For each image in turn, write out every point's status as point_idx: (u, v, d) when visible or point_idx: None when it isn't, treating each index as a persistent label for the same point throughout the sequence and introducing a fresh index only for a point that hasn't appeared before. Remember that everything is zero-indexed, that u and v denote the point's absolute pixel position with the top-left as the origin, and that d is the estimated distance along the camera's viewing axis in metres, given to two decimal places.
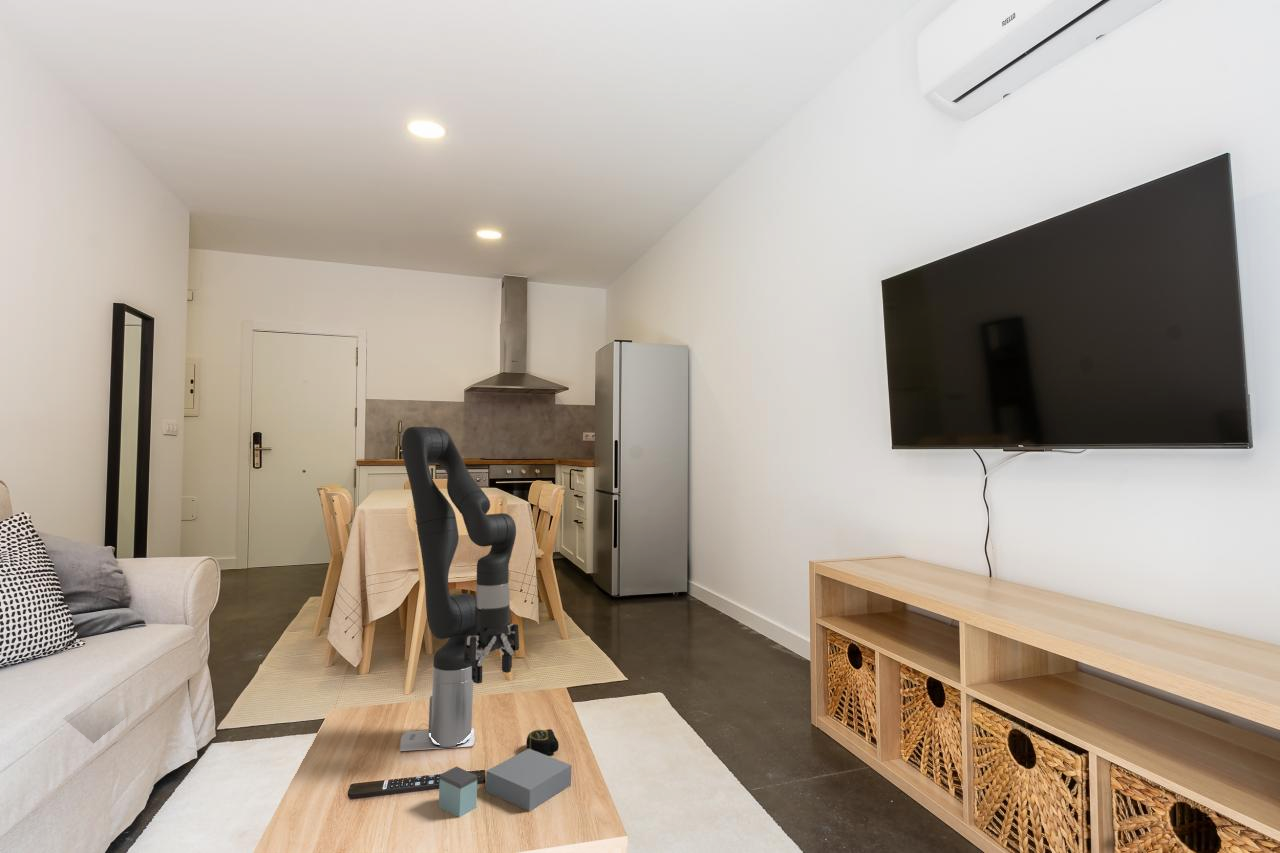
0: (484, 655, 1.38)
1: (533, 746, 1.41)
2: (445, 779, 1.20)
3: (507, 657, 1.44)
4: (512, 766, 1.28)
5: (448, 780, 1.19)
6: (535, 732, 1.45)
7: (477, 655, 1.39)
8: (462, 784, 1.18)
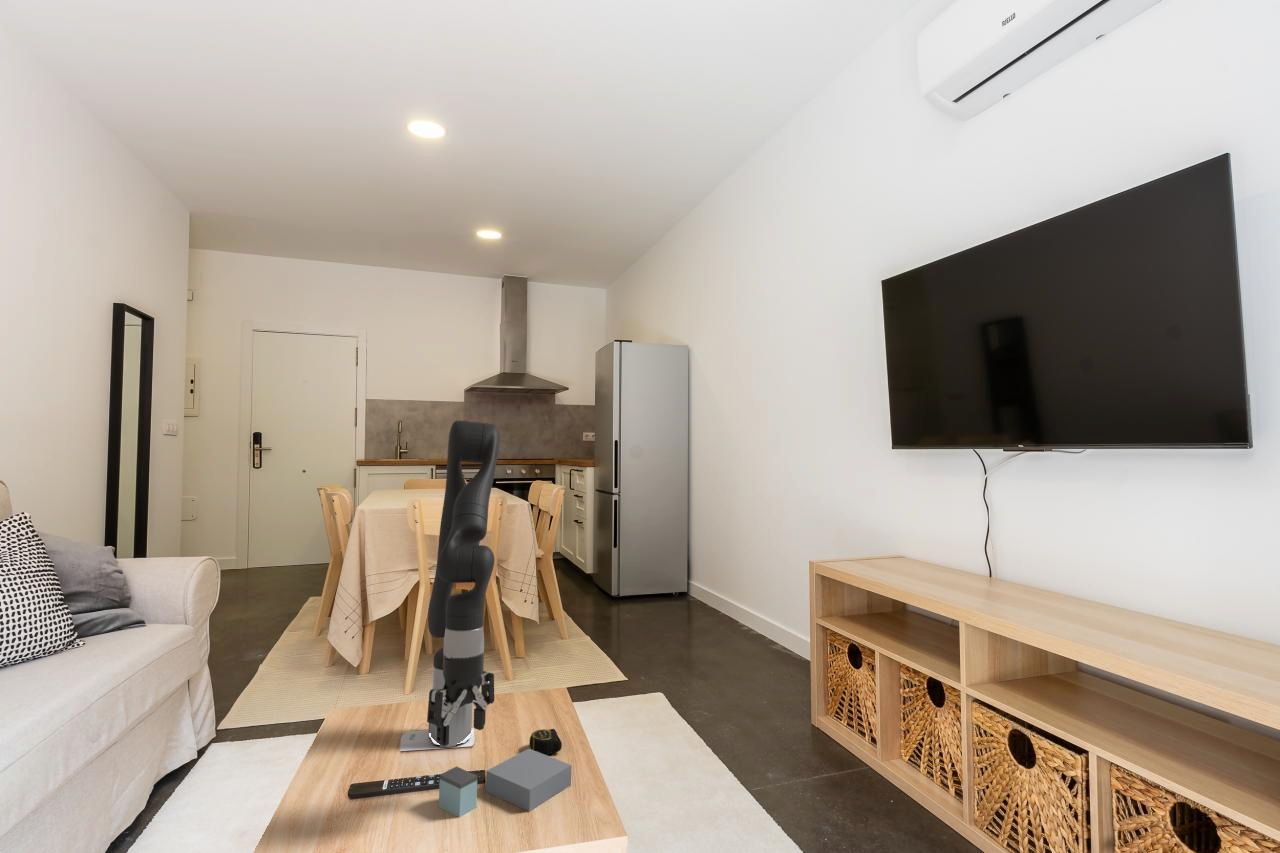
0: (452, 713, 1.17)
1: (537, 746, 1.41)
2: (445, 779, 1.20)
3: (480, 712, 1.24)
4: (512, 766, 1.28)
5: (448, 780, 1.19)
6: (538, 732, 1.46)
7: (444, 712, 1.19)
8: (462, 784, 1.18)
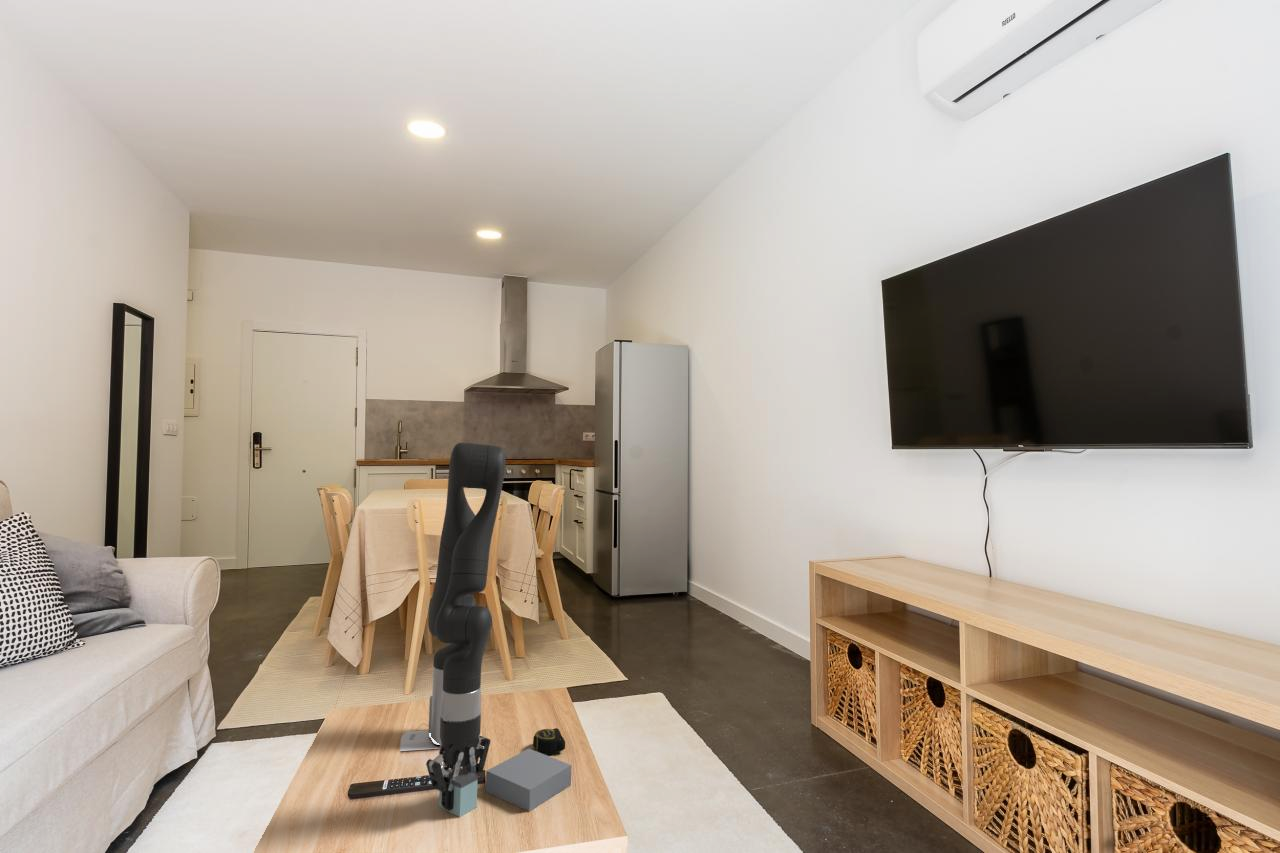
0: (454, 777, 1.18)
1: (540, 745, 1.41)
2: None
3: None
4: (512, 766, 1.28)
5: (448, 780, 1.19)
6: (542, 731, 1.46)
7: None
8: (462, 784, 1.18)
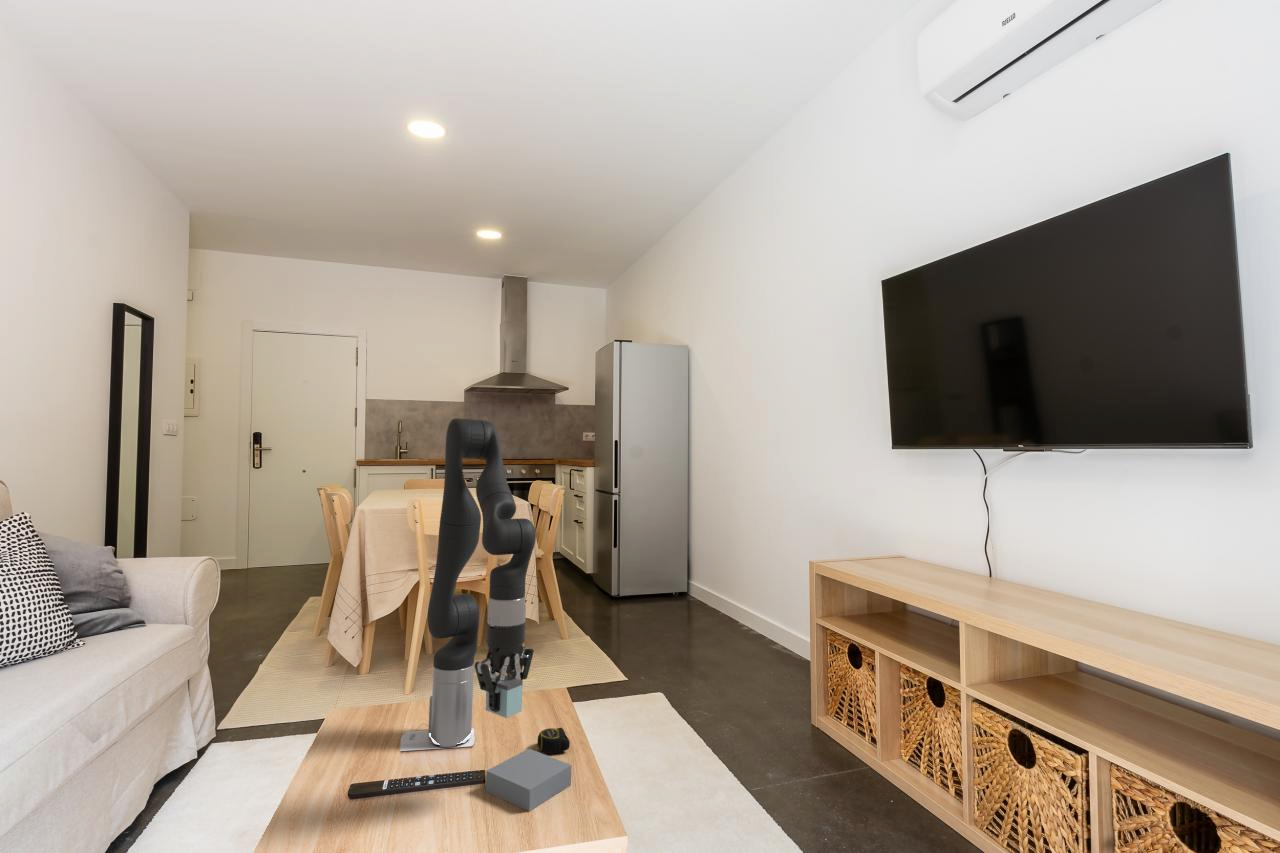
0: (501, 680, 1.23)
1: (545, 745, 1.42)
2: None
3: None
4: (512, 766, 1.28)
5: None
6: (546, 730, 1.46)
7: (493, 679, 1.24)
8: (509, 686, 1.23)
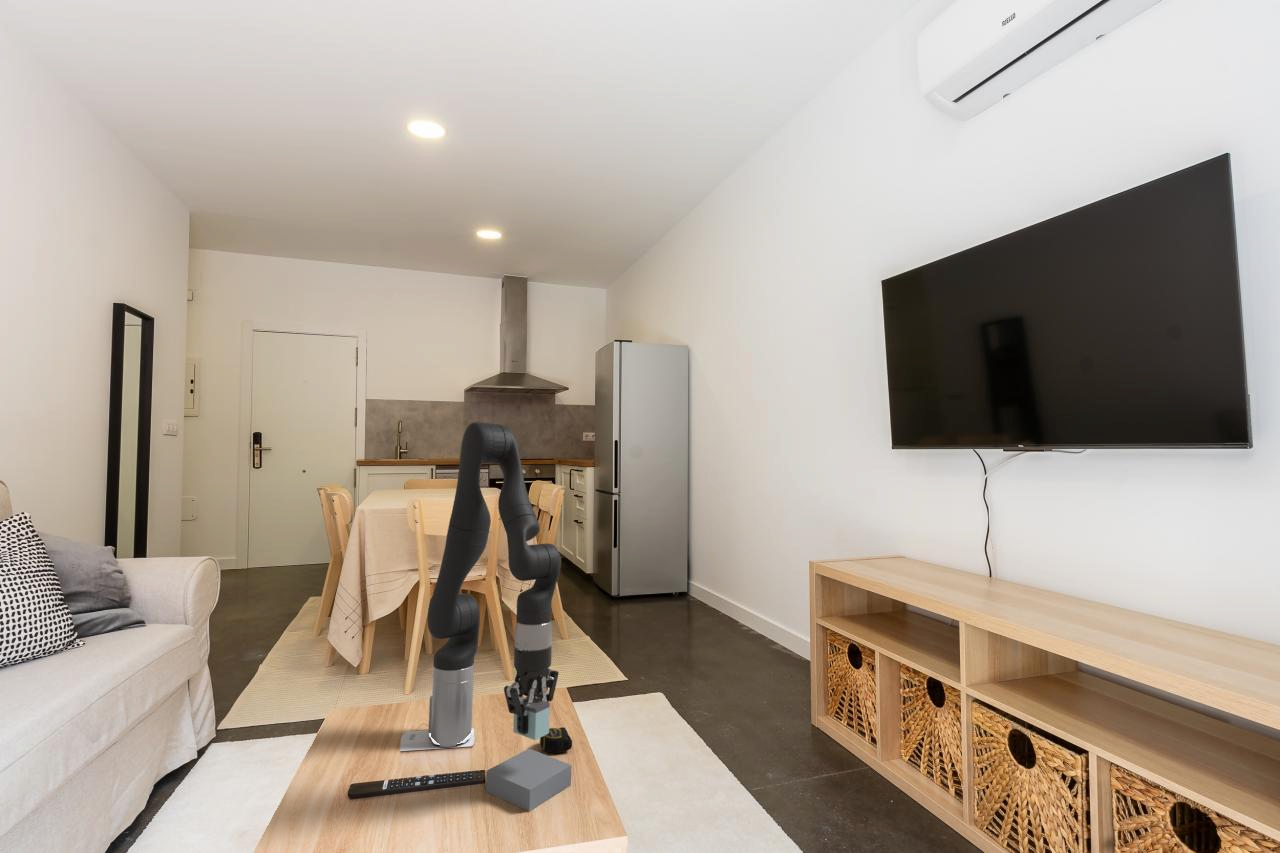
0: (529, 703, 1.26)
1: (547, 744, 1.42)
2: None
3: None
4: (512, 766, 1.28)
5: (523, 706, 1.27)
6: None
7: (521, 702, 1.27)
8: (537, 709, 1.26)
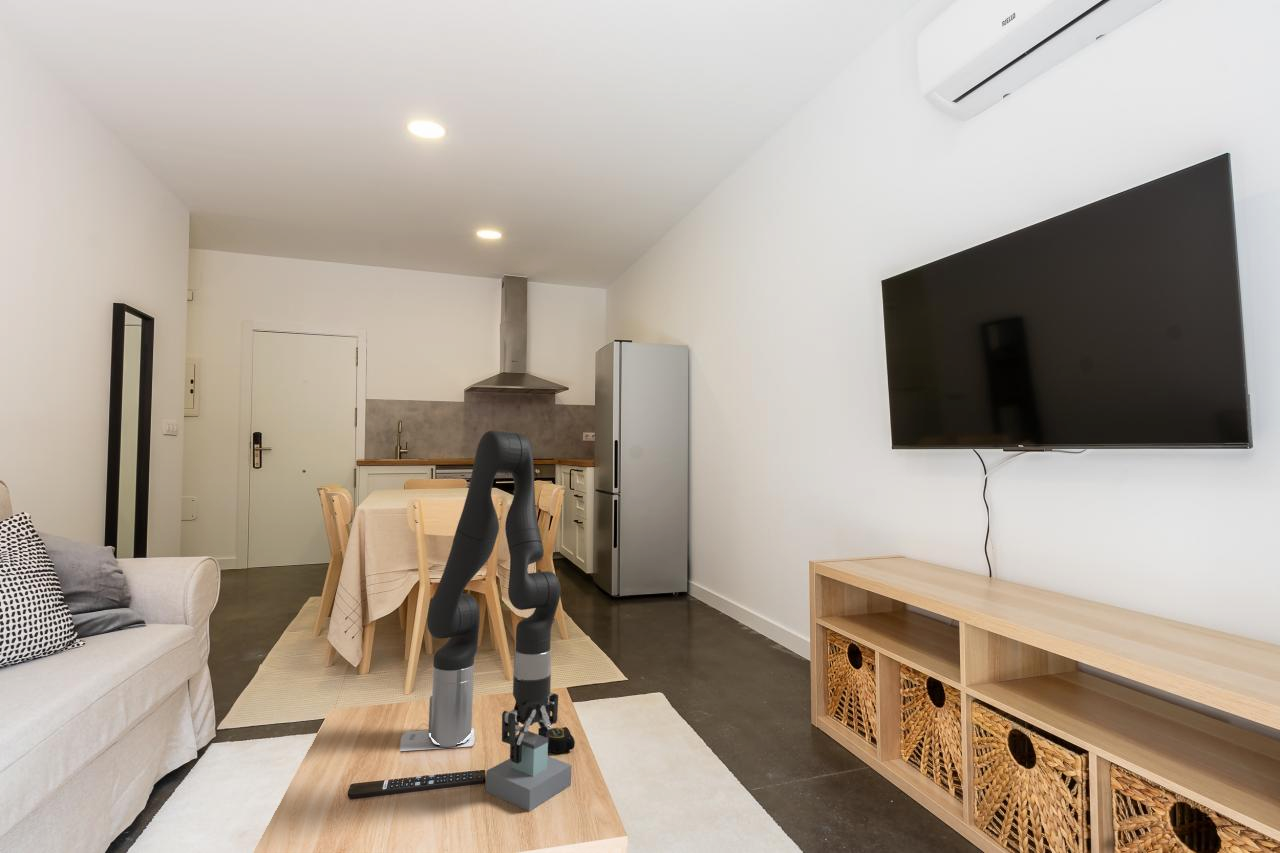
0: (524, 732, 1.25)
1: (550, 744, 1.42)
2: None
3: (544, 732, 1.31)
4: None
5: (521, 742, 1.27)
6: (551, 730, 1.47)
7: (516, 731, 1.26)
8: (535, 745, 1.25)
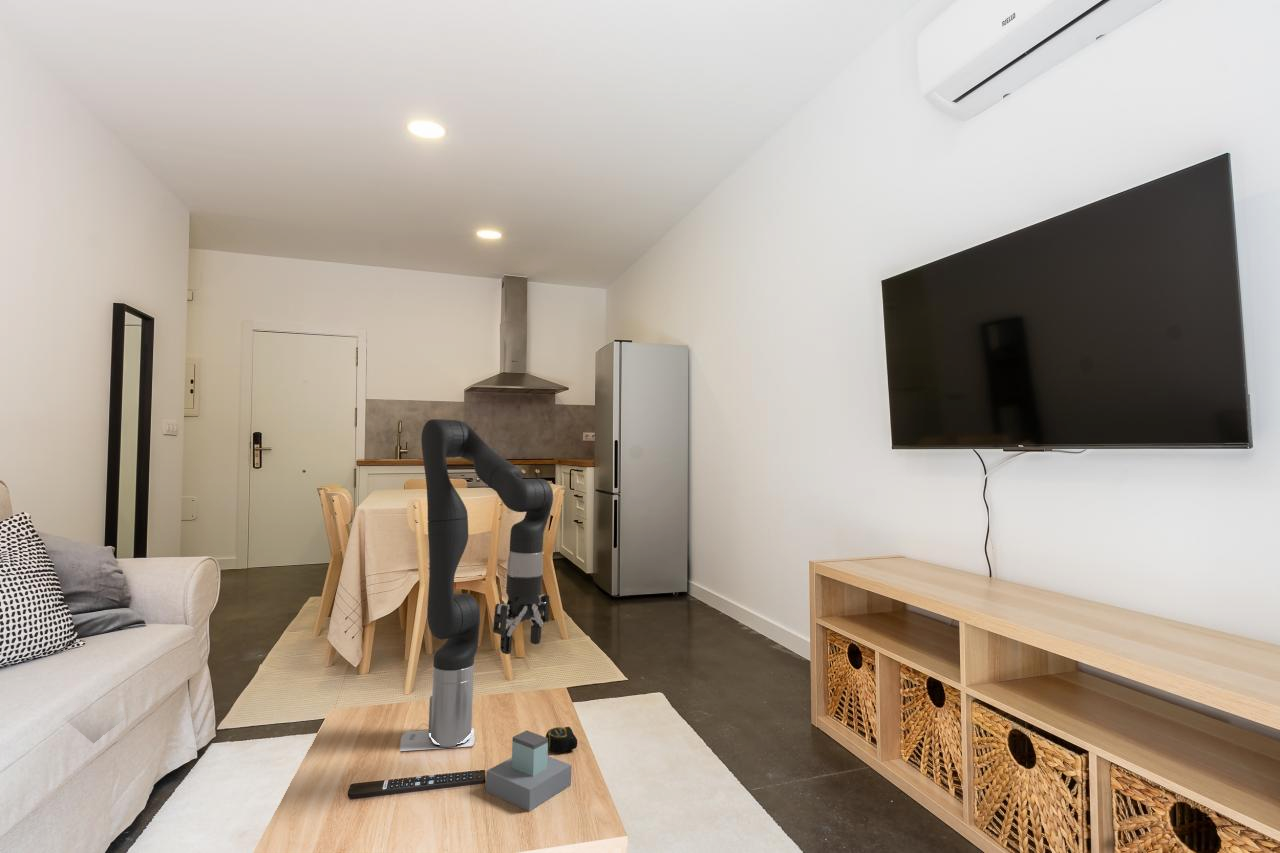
0: (514, 625, 1.32)
1: (553, 743, 1.43)
2: (518, 741, 1.27)
3: (536, 628, 1.38)
4: None
5: (521, 742, 1.27)
6: (554, 729, 1.47)
7: (507, 624, 1.33)
8: (535, 745, 1.25)
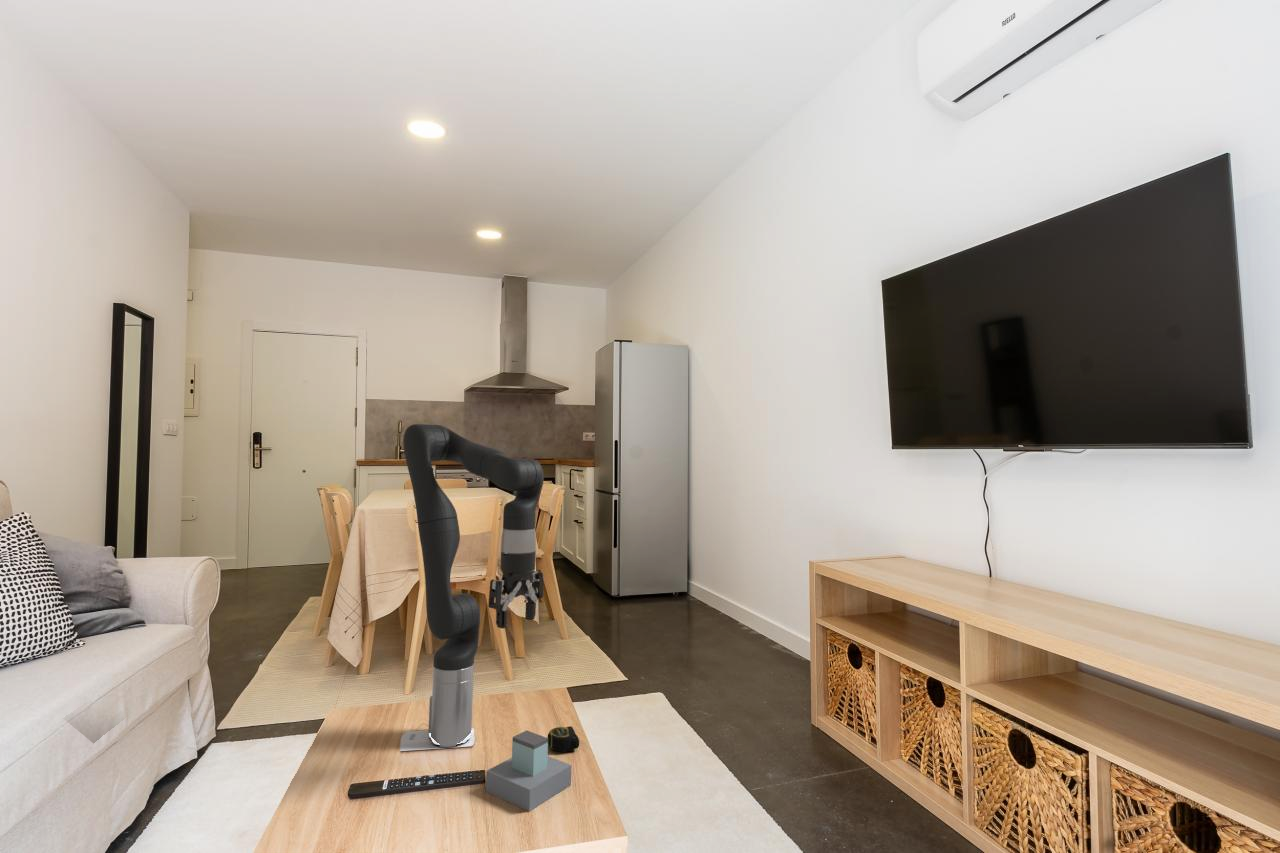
0: (509, 600, 1.35)
1: (555, 743, 1.43)
2: (518, 741, 1.27)
3: (531, 604, 1.42)
4: None
5: (521, 742, 1.27)
6: (556, 729, 1.47)
7: (502, 600, 1.36)
8: (535, 745, 1.25)
